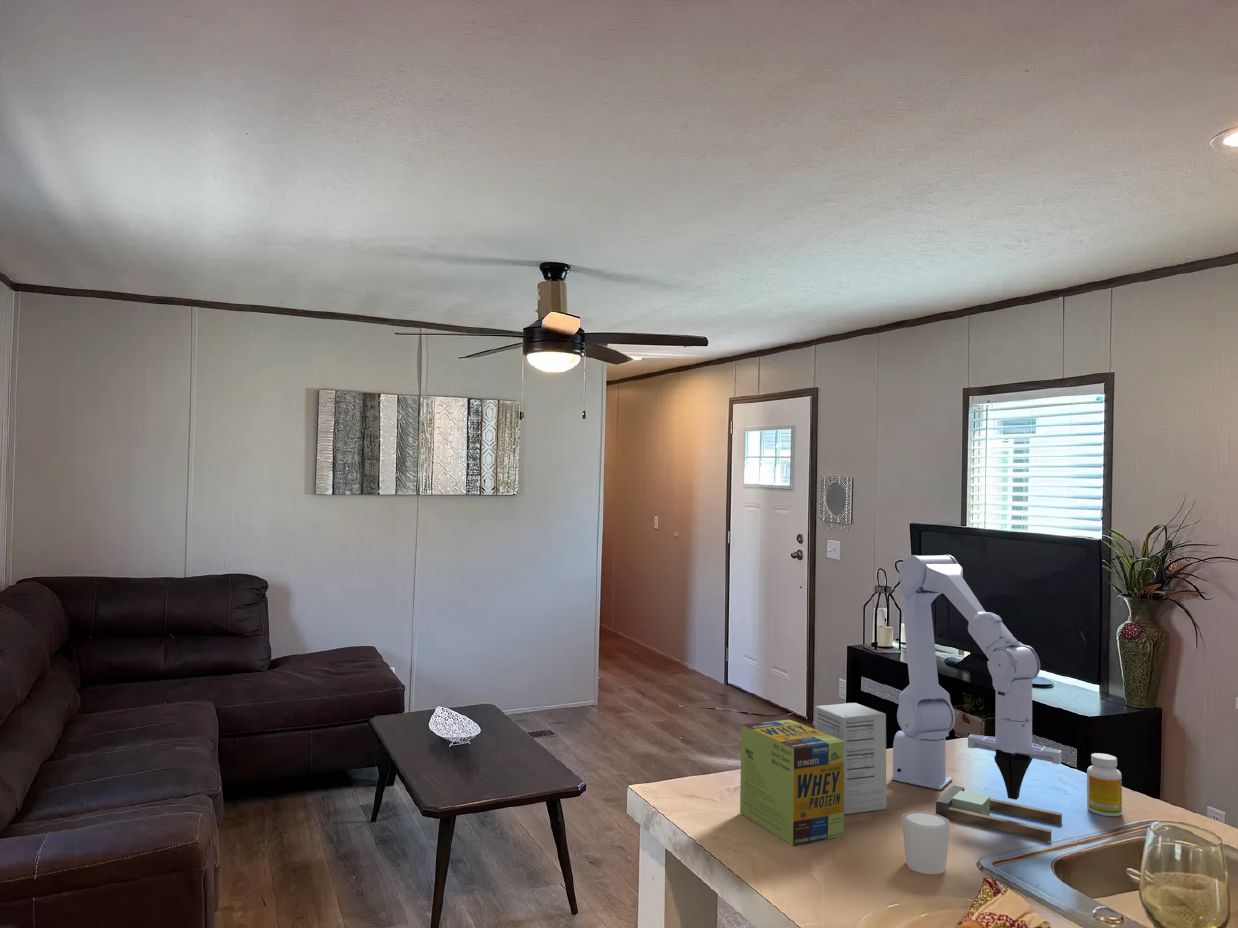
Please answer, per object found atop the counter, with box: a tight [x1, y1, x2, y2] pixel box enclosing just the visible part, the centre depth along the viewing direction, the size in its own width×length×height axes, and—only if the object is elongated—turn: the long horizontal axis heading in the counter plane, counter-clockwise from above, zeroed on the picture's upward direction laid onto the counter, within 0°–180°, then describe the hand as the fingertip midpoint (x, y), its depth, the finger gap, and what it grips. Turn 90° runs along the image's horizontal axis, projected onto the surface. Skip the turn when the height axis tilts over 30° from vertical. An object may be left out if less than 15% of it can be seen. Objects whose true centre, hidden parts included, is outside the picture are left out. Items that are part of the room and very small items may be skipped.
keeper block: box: [952, 790, 991, 816], centre depth 149 cm, size 5×5×3 cm
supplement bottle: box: [1086, 752, 1123, 817], centre depth 151 cm, size 5×5×10 cm
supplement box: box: [814, 702, 887, 815], centre depth 154 cm, size 10×9×17 cm
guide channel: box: [935, 784, 1063, 842], centre depth 147 cm, size 18×10×2 cm, turn 53°
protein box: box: [739, 719, 845, 847], centre depth 143 cm, size 10×15×16 cm
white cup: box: [901, 810, 951, 875], centre depth 128 cm, size 7×7×7 cm
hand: (1013, 797), depth 145 cm, fingers closed
